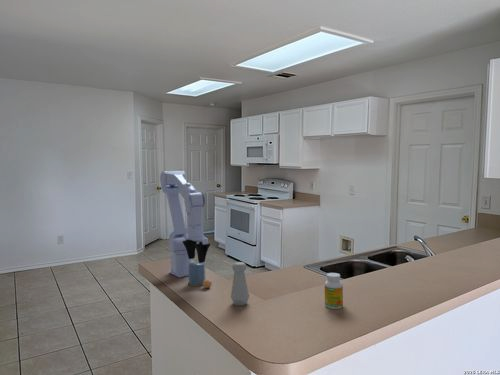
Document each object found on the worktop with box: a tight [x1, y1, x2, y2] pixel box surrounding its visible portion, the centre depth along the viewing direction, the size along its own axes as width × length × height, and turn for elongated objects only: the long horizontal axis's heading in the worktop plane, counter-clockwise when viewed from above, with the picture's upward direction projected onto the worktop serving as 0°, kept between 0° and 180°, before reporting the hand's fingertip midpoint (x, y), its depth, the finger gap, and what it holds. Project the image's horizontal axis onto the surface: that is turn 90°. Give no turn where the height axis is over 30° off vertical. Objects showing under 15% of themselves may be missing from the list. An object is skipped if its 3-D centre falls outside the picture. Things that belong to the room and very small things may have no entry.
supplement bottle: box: [324, 272, 344, 310], centre depth 107 cm, size 5×5×10 cm
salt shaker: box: [230, 261, 250, 307], centre depth 111 cm, size 6×6×13 cm
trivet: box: [187, 281, 204, 287], centre depth 133 cm, size 7×7×1 cm
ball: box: [202, 278, 212, 289], centre depth 127 cm, size 3×3×3 cm
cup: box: [188, 261, 207, 285], centre depth 132 cm, size 6×6×7 cm
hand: (196, 260), depth 132 cm, fingers open, 7 cm apart
